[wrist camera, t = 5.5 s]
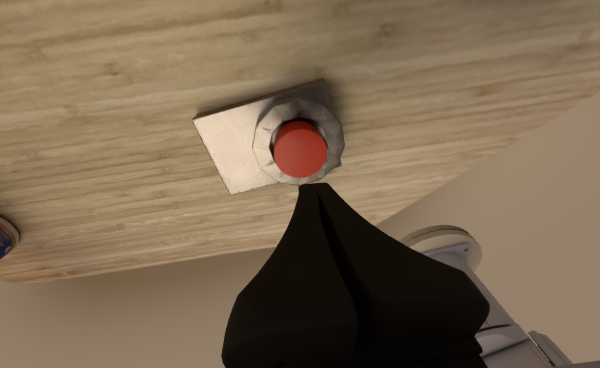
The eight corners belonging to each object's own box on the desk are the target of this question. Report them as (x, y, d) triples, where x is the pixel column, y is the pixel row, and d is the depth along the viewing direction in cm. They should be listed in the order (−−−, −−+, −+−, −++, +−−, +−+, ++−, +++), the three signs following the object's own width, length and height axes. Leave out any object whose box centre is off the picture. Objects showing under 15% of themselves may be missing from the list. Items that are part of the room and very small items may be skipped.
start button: (317, 114, 16) (321, 122, 15) (327, 159, 18) (331, 170, 17) (267, 128, 17) (266, 137, 15) (282, 171, 19) (282, 183, 17)
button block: (326, 76, 18) (334, 84, 15) (341, 158, 21) (349, 175, 19) (196, 114, 18) (183, 127, 16) (232, 187, 22) (227, 207, 20)
